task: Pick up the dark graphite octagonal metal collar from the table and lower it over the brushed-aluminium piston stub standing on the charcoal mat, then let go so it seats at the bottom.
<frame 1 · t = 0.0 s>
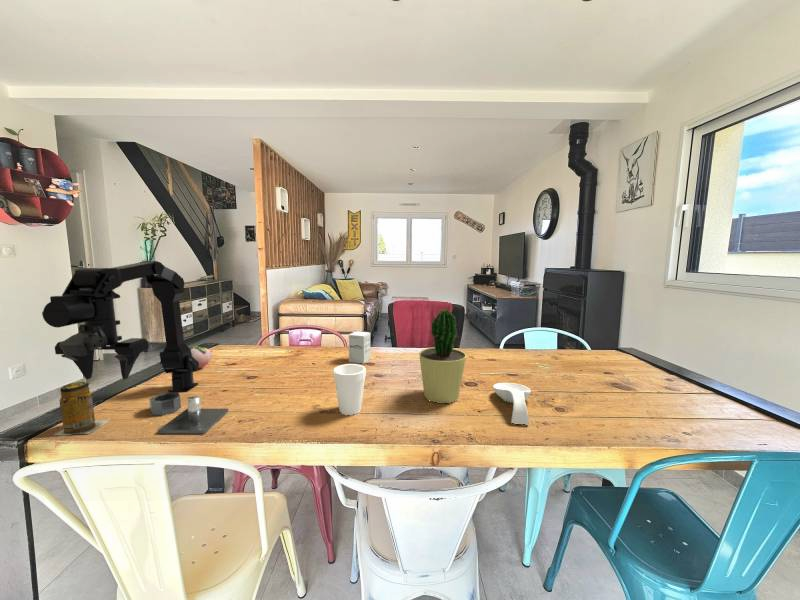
hand: (107, 378, 82), 15 cm above the table, fingers open, 9 cm apart
octagonal metal collar: (166, 410, 96), on the table
spoon rest: (514, 407, 101), on the table
foam cup: (350, 411, 97), on the table
potted cactus: (441, 396, 108), on the table
decorative fruit: (199, 369, 131), on the table
piston post: (195, 422, 90), on the table
condiment: (83, 428, 86), on the table
supplement box: (359, 361, 143), on the table
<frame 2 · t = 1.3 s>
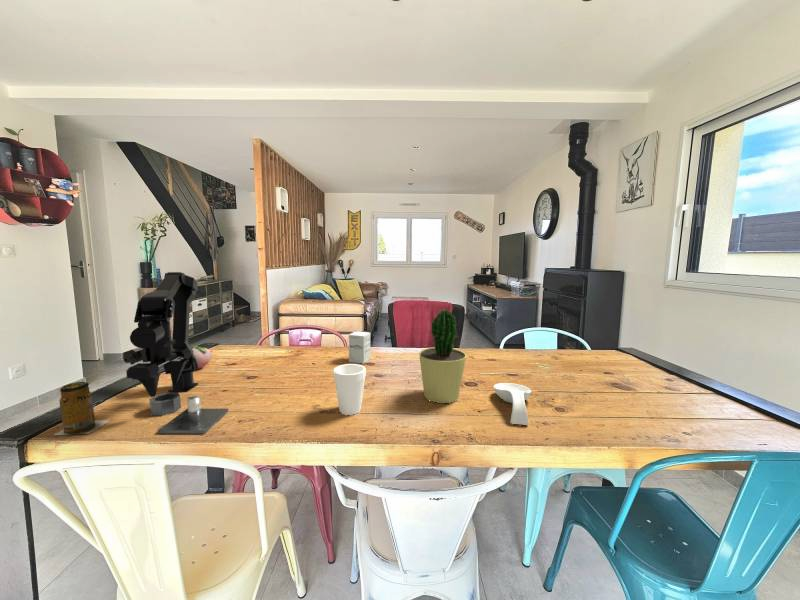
hand: (164, 389, 96), 6 cm above the table, fingers open, 9 cm apart
nothing on the table moved.
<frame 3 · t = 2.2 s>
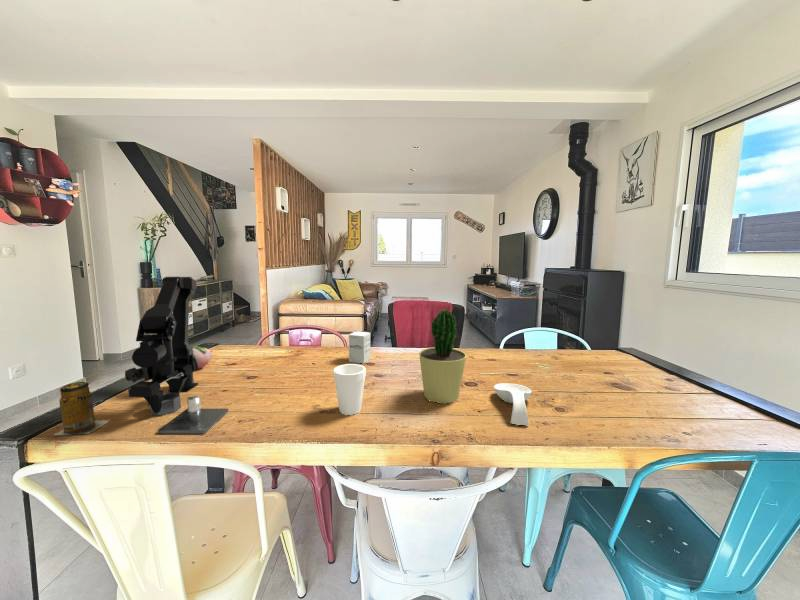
hand: (165, 406, 96), 1 cm above the table, fingers closed on octagonal metal collar, 7 cm apart
octagonal metal collar: (166, 410, 96), on the table, touching gripper
everything else where it was.
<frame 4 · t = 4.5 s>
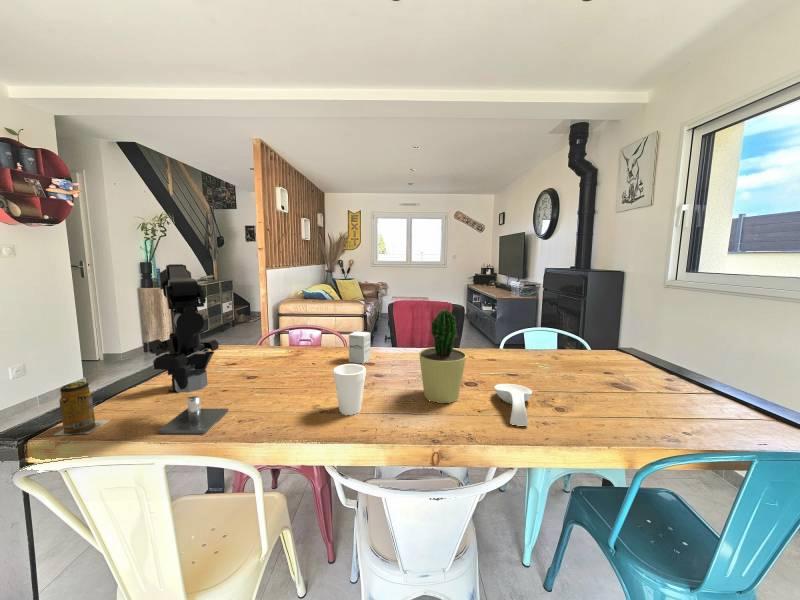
hand: (191, 383, 88), 11 cm above the table, fingers closed on octagonal metal collar, 7 cm apart
octagonal metal collar: (191, 387, 88), point 10 cm above the table, touching gripper
everything else where it was.
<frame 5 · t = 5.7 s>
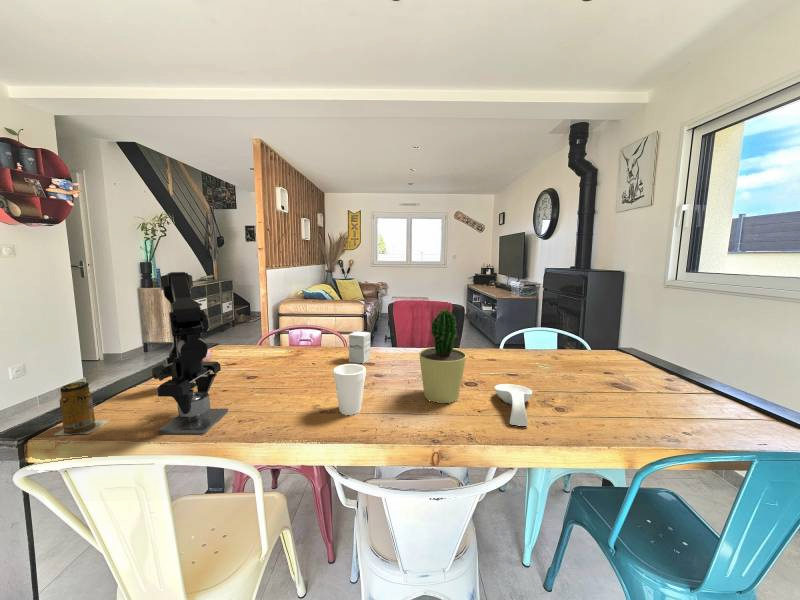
hand: (194, 407, 89), 4 cm above the table, fingers closed on octagonal metal collar, 7 cm apart
octagonal metal collar: (194, 410, 89), point 3 cm above the table, touching gripper
when the fingers open (4 cm above the table, at t = 6.7 s): octagonal metal collar drops 2 cm, resting on piston post.
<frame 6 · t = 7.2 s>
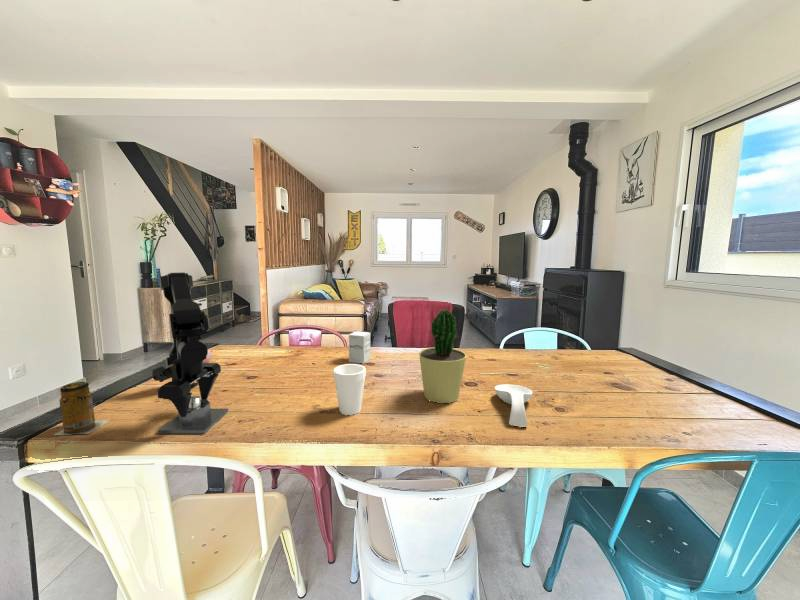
hand: (194, 408, 89), 4 cm above the table, fingers open, 9 cm apart
octagonal metal collar: (195, 418, 90), point 1 cm above the table, touching piston post
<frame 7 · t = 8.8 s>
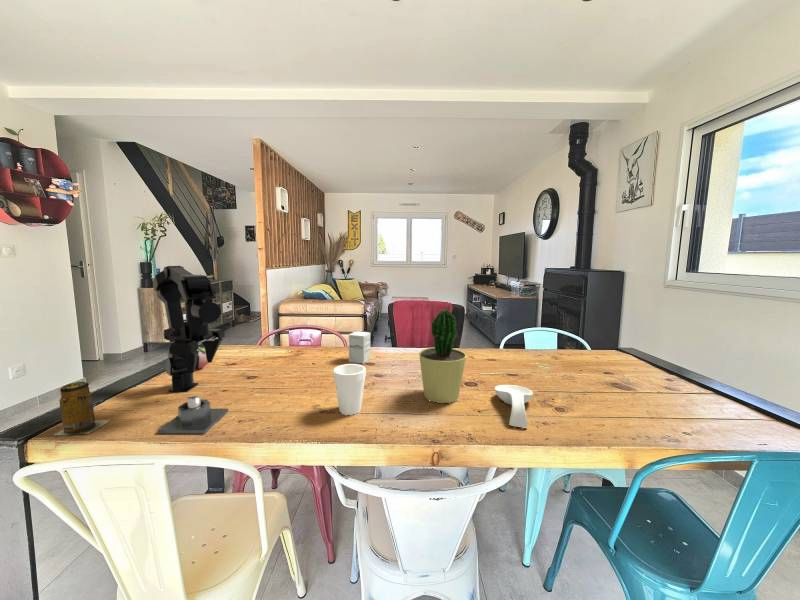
hand: (201, 367, 99), 12 cm above the table, fingers open, 9 cm apart
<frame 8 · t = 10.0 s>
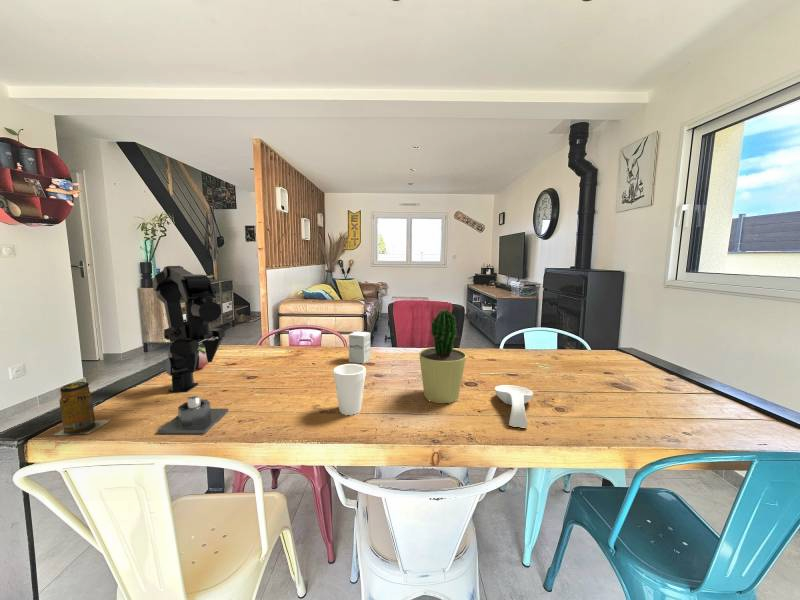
hand: (201, 367, 99), 12 cm above the table, fingers open, 9 cm apart
at the end: octagonal metal collar 0.0 cm off-centre on the piston post, point 1.0 cm above the piston post's base; the gripper is holding nothing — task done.
